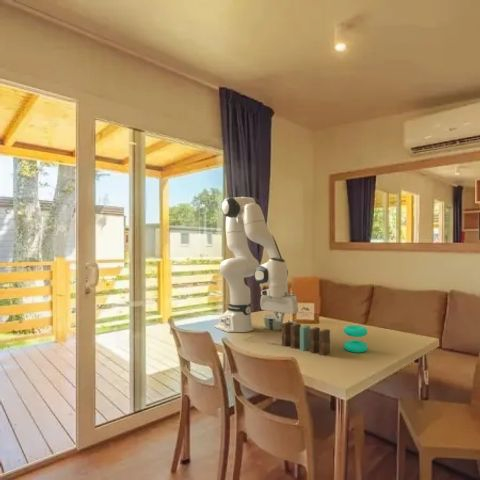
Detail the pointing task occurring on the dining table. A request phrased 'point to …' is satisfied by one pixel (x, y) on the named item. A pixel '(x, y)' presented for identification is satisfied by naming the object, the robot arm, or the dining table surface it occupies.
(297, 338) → the domino
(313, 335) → the domino
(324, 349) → the domino
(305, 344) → the domino
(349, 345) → the donuts
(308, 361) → the dining table surface
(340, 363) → the dining table surface
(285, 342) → the domino
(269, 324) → the food container
